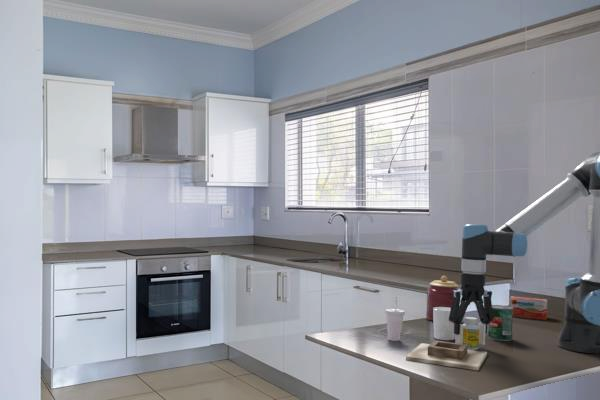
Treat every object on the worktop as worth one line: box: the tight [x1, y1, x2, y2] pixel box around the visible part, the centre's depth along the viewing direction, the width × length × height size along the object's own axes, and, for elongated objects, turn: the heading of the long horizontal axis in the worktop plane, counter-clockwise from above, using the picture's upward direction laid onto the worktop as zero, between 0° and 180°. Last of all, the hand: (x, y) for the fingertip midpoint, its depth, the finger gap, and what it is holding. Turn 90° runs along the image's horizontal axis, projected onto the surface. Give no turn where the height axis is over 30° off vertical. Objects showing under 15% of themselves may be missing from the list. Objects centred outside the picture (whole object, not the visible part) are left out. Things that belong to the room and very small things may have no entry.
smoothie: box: [384, 296, 406, 342], centre depth 198 cm, size 6×6×14 cm
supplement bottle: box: [462, 316, 480, 351], centre depth 191 cm, size 5×5×10 cm
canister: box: [425, 275, 459, 322], centre depth 239 cm, size 13×13×18 cm
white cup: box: [432, 307, 455, 341], centre depth 204 cm, size 8×8×10 cm
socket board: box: [405, 339, 488, 371], centre depth 177 cm, size 20×20×4 cm
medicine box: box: [509, 296, 548, 321], centre depth 257 cm, size 15×8×8 cm, turn 68°
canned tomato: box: [487, 304, 514, 342], centre depth 208 cm, size 8×8×11 cm
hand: (470, 344), depth 191 cm, fingers open, 8 cm apart
